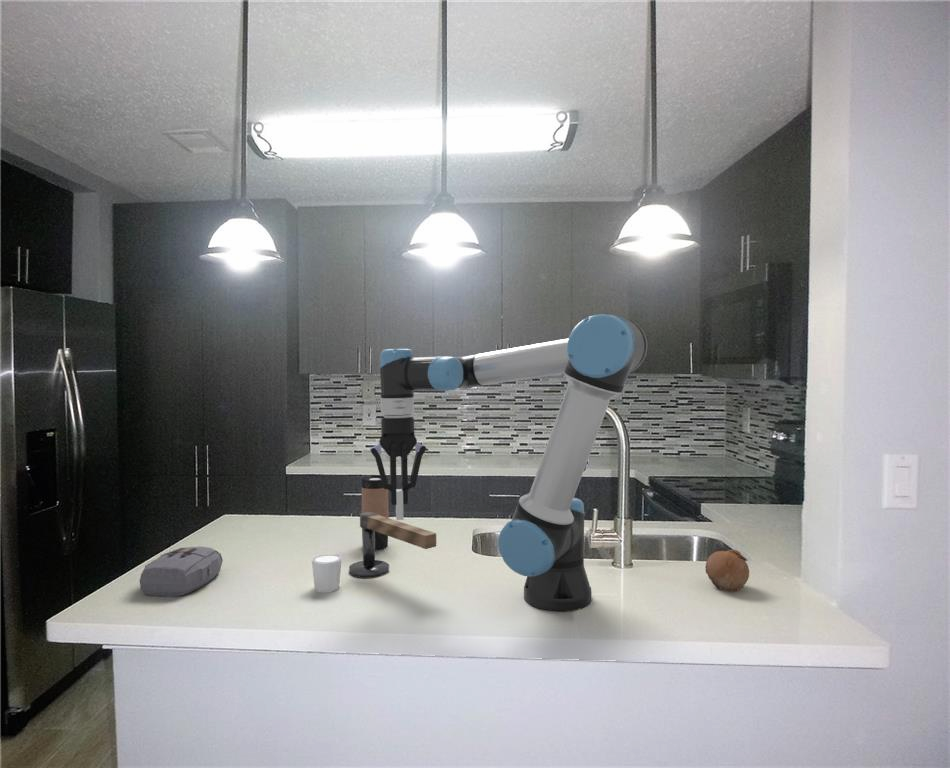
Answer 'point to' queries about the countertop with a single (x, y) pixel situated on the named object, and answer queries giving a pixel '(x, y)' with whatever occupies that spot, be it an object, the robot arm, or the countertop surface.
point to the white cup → (326, 572)
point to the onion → (727, 570)
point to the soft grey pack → (180, 571)
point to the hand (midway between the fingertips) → (399, 518)
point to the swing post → (368, 559)
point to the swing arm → (398, 530)
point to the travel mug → (375, 504)
